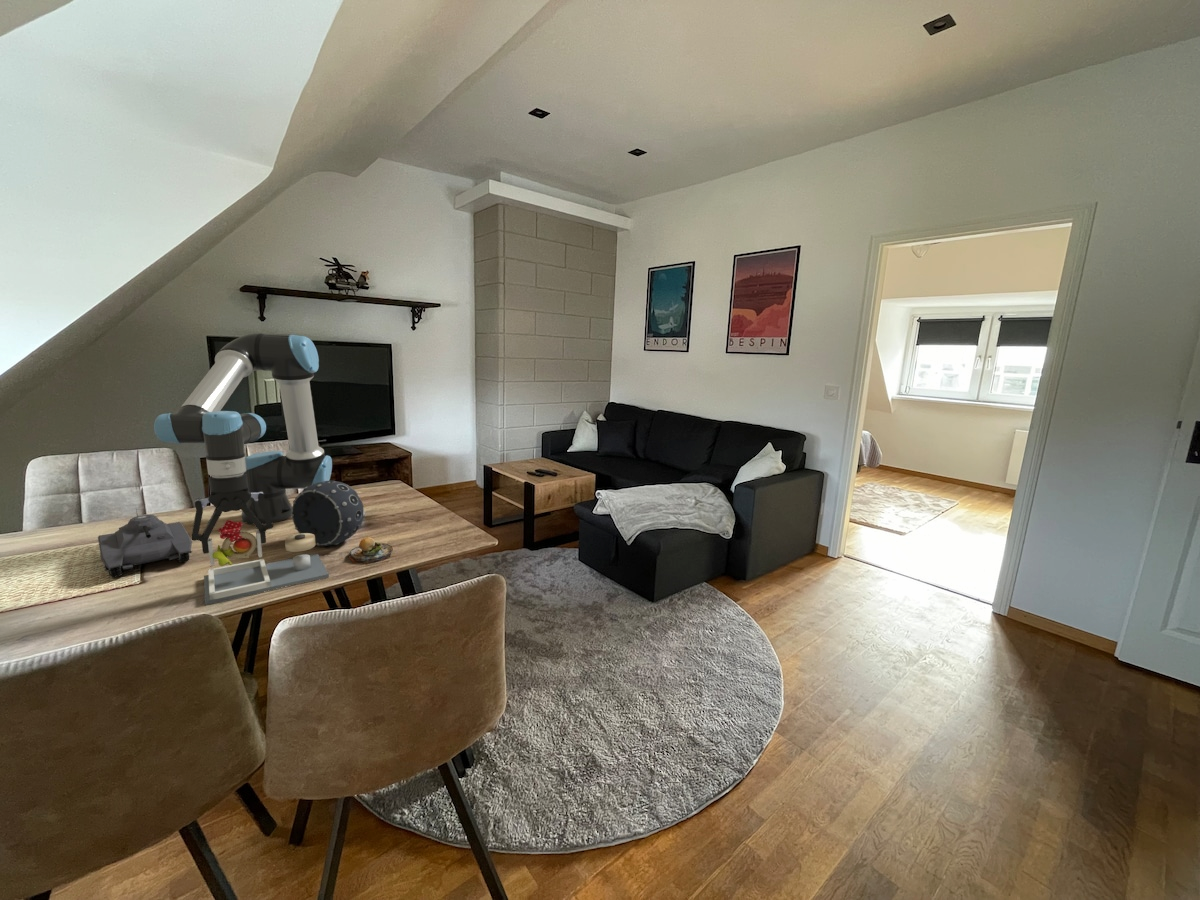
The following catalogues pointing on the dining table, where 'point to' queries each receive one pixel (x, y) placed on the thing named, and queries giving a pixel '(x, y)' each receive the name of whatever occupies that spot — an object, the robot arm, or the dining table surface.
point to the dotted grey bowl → (328, 512)
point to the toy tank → (143, 544)
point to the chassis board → (260, 577)
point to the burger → (370, 551)
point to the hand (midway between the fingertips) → (236, 559)
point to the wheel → (300, 542)
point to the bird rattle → (242, 544)
